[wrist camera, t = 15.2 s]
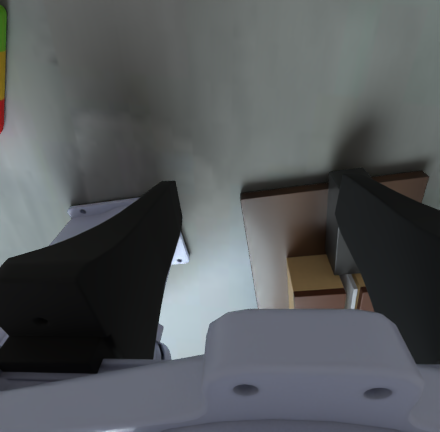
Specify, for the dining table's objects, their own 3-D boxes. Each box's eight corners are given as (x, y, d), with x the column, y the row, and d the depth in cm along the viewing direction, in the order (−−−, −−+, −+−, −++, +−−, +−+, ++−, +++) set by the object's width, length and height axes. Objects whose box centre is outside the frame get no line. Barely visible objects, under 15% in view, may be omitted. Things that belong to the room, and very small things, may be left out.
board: (260, 318, 33) (260, 326, 32) (240, 193, 23) (240, 199, 22) (383, 312, 31) (387, 319, 30) (422, 170, 21) (429, 176, 20)
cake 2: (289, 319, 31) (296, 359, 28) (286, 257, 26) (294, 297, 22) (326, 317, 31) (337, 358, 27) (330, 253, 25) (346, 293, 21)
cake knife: (329, 171, 20) (348, 205, 17) (363, 167, 20) (391, 200, 16) (320, 320, 31) (331, 361, 27) (343, 319, 31) (357, 360, 27)
